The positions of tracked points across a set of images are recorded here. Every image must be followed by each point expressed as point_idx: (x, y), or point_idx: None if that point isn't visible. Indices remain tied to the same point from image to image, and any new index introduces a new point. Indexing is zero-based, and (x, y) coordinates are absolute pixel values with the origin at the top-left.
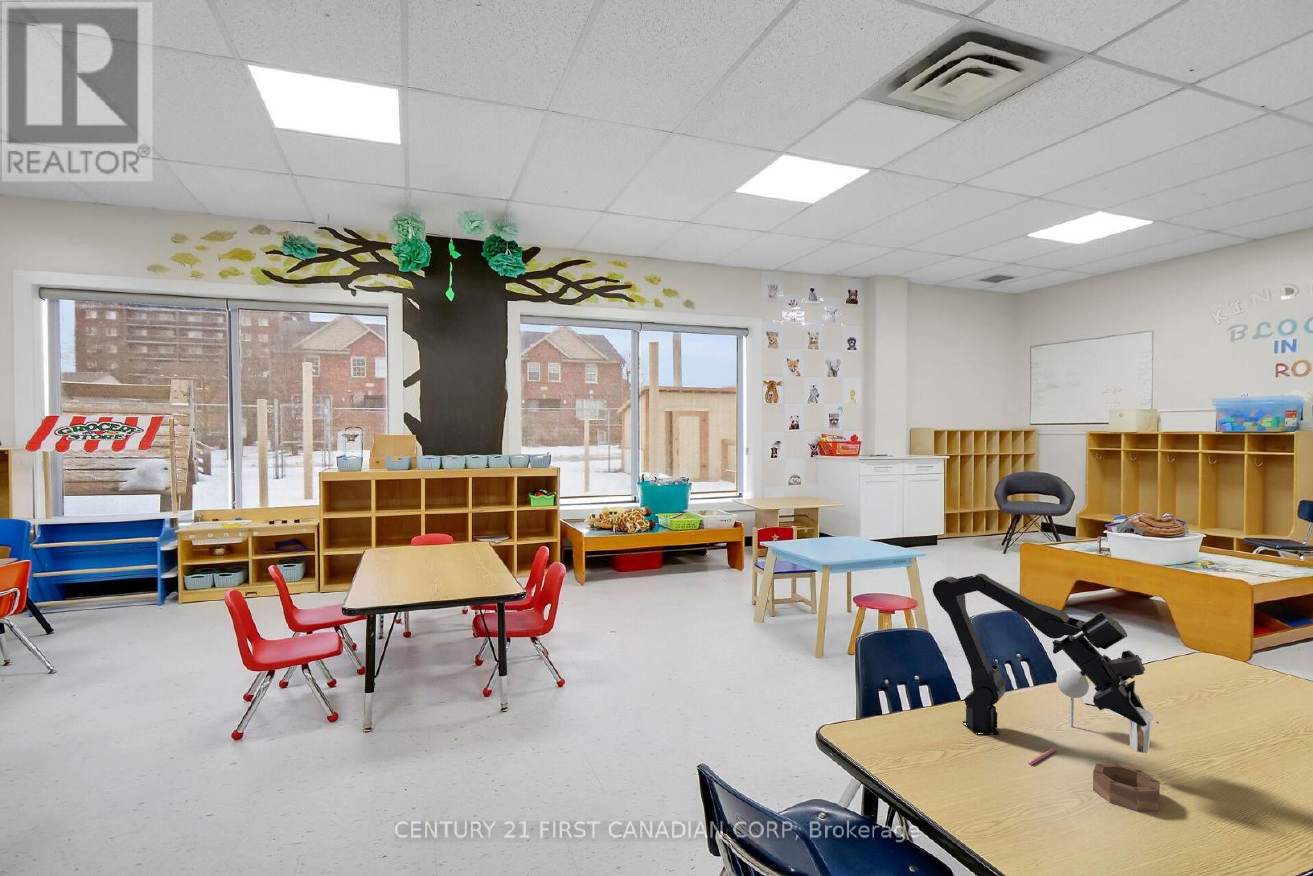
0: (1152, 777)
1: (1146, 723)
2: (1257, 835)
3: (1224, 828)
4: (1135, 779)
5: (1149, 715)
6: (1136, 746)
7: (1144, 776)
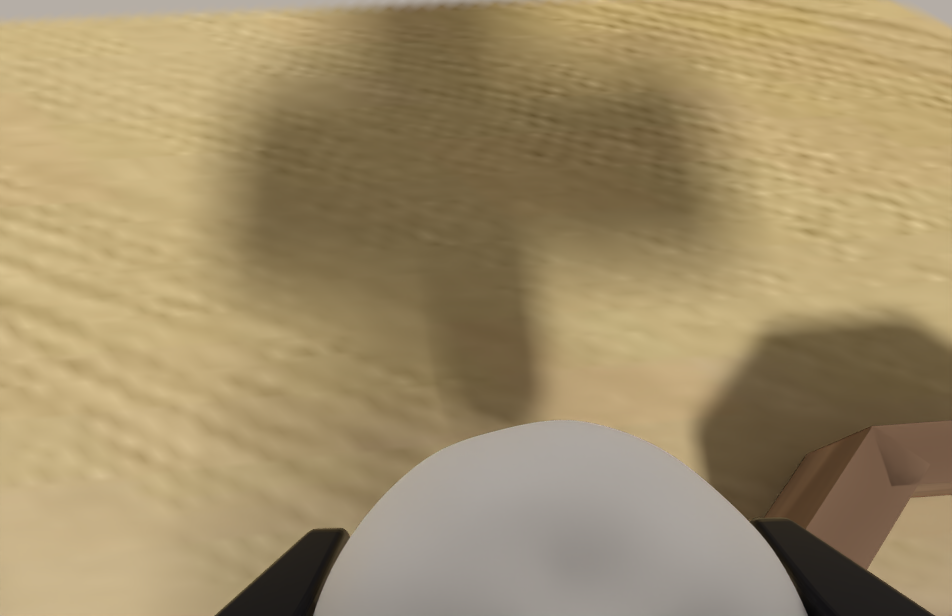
0: (844, 477)
1: (777, 522)
2: (752, 93)
3: (818, 184)
4: None
5: (646, 470)
6: None
7: (886, 532)
